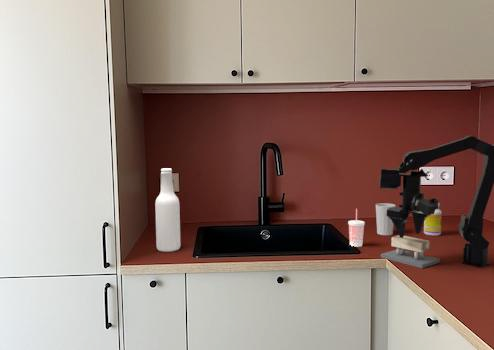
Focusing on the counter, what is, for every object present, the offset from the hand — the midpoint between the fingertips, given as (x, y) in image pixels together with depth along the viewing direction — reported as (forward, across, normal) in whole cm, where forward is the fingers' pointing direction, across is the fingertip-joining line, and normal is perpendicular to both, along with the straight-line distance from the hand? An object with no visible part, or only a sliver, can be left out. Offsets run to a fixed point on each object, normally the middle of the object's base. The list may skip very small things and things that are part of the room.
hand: (409, 235), depth 164 cm
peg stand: (+8, 0, 0) cm, 8 cm away
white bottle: (+9, -57, +64) cm, 86 cm away
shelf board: (+4, 0, 0) cm, 4 cm away
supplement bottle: (+9, +39, +16) cm, 43 cm away
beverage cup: (+9, +1, +24) cm, 25 cm away
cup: (+9, +25, +29) cm, 39 cm away
